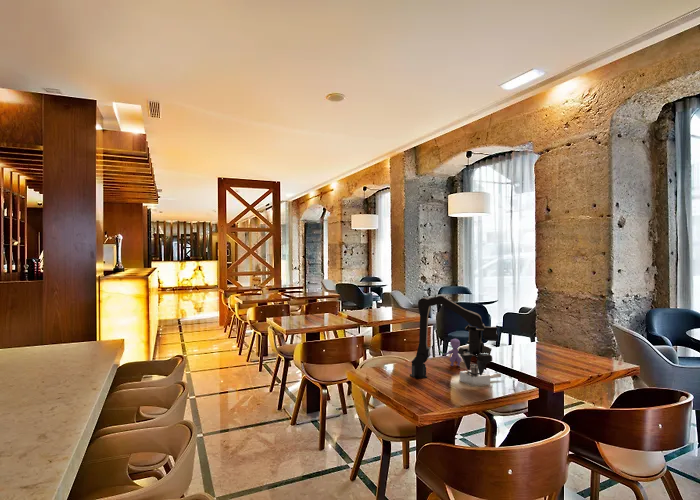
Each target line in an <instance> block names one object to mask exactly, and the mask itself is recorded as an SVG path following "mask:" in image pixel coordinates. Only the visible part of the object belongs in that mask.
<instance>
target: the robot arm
mask: <svg viewBox="0 0 700 500" xmlns="http://www.w3.org/2000/svg"><path fill="white" fill-rule="evenodd" d="M437 305H441V306H444V307H446V309H448V310H450V311H452V312H454V313H455V314H457V315H459V316H460V317H461V318H462V319H464V320H465V321H466V322H467V323H468V325H466V327H464V330H465V331H468V340H467V341H466V344H467V345H468V347H469V348H468V347H467V346H466V347H459V348H458V353H459V354H458V355H459V357H460V358H461V359H462V361H463V363H464V364H465V367H466V369H467V371H469V370H471V364H472V363H471V362H472V358H473V357H476V359H477V360H476V364H477V365H478V371H479V374H480V375H482V374H483V373H484V370H485V368H486V366H487V364H488V363H491V362H493V356H492V355H491V353H492V348H490V347H488V346H485V343H484V342H483V341H482V339H483V340H484V341H489V342H498V339H499V337H498V327H497V326H486V325H485V323H483V321H482V316H481V315H480V314H479V313H477V312H474V311H472V310H468V309H466V308H464V307H462V306H461V305H459V304H457V303H455V302H453V301H452V300H450V299H449V298H447V297H445V295H441V294H440V295H438V296H433V297H426V296H424V297H422V298H419V300H418V301H417V307H418V308H417V309H418V313H419V335H418V336H419V338H418V340H419V341H418V346H417V349H416V355H415V357H414V358H413V359H412V360H411V374H409V376H411V377H412V378H413V379H416V380H417V379H424V378H428V376H427V367H426V362H427V361H428V360H429V358H430V356H431V355H432V354H431V348H432V347H431V346H428V334H429V333H428V326H429V325H428V324H429V314H430V311H431V307H432V306H433V307H434V306H437Z"/></svg>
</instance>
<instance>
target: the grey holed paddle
mask: <svg viewBox="0 0 700 500" xmlns="http://www.w3.org/2000/svg"><path fill="white" fill-rule="evenodd" d="M501 377H502V374H501V373H491V374H488V373H486V372H483V374H482V375H480V374H479V370H478V375H472V374H471V369H470V370H460V371H459V381H460V382H461V383H464V384H466V385H467V386H469V387H473V388H474V387H485V386H490V385H491V379H497V378H498V379H499V378H501Z"/></svg>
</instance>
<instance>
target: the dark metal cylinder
mask: <svg viewBox="0 0 700 500" xmlns="http://www.w3.org/2000/svg"><path fill="white" fill-rule="evenodd" d="M470 370H471V374H472V375H478V371H479V370H478V365H477V363H471V364H470Z"/></svg>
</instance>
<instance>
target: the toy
mask: <svg viewBox="0 0 700 500" xmlns="http://www.w3.org/2000/svg"><path fill="white" fill-rule="evenodd" d="M449 341H450V346H451V348H452V349H451V350H448V352H445V353H444V352H443V351H442V350H438V352H439V353H440V354H442V355H443V356H446V355H451V356H450V357H449V362H450V364H449V365H450V366H451V367H454V363H455V362H456V366H457V365H458V367H460V366H461V365H460V364H461V362H462V361H463V359H462V357H461V356H460V354H459V353H458V351H459V348H460V346H461V342H460V340H459V339H458V338H453V339H450V340H449ZM468 348H469V346H468Z"/></svg>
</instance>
